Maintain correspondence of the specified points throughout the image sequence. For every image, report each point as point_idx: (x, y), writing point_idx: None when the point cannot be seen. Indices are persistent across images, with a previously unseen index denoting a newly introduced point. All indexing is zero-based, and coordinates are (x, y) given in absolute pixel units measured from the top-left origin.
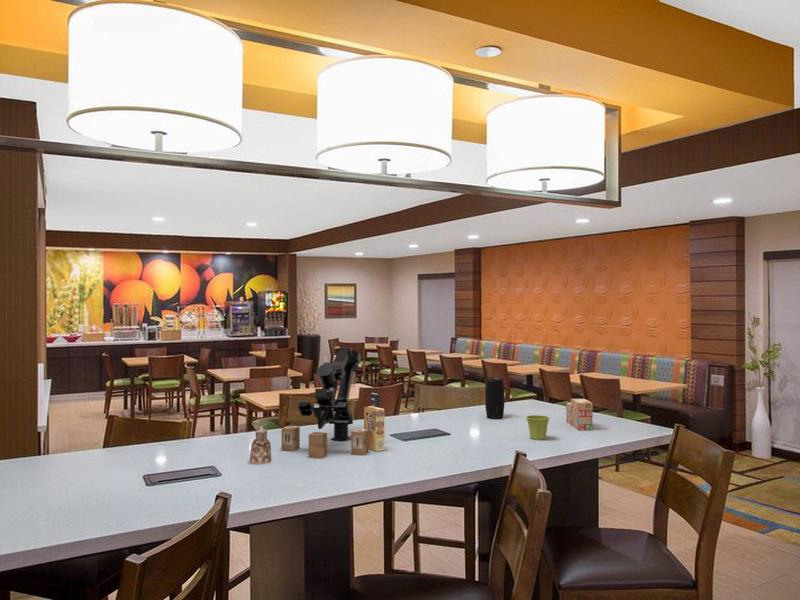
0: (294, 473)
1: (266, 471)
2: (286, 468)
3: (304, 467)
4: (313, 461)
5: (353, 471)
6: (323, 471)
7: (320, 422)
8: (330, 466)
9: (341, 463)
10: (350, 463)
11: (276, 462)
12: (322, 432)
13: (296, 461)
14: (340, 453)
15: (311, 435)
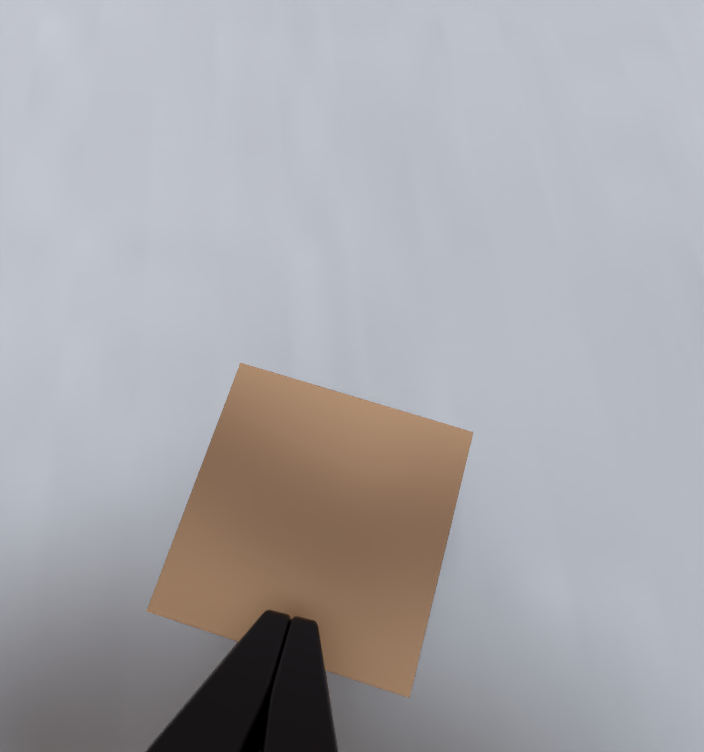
0: (449, 4)
1: (660, 59)
2: (537, 122)
3: (403, 139)
4: (351, 318)
5: (29, 21)
6: (249, 34)
7: (252, 724)
8: (196, 154)
9: (99, 238)
10: (19, 233)
11: (675, 302)
12: (239, 629)
13: (506, 327)
14: (73, 661)
15: (421, 421)
